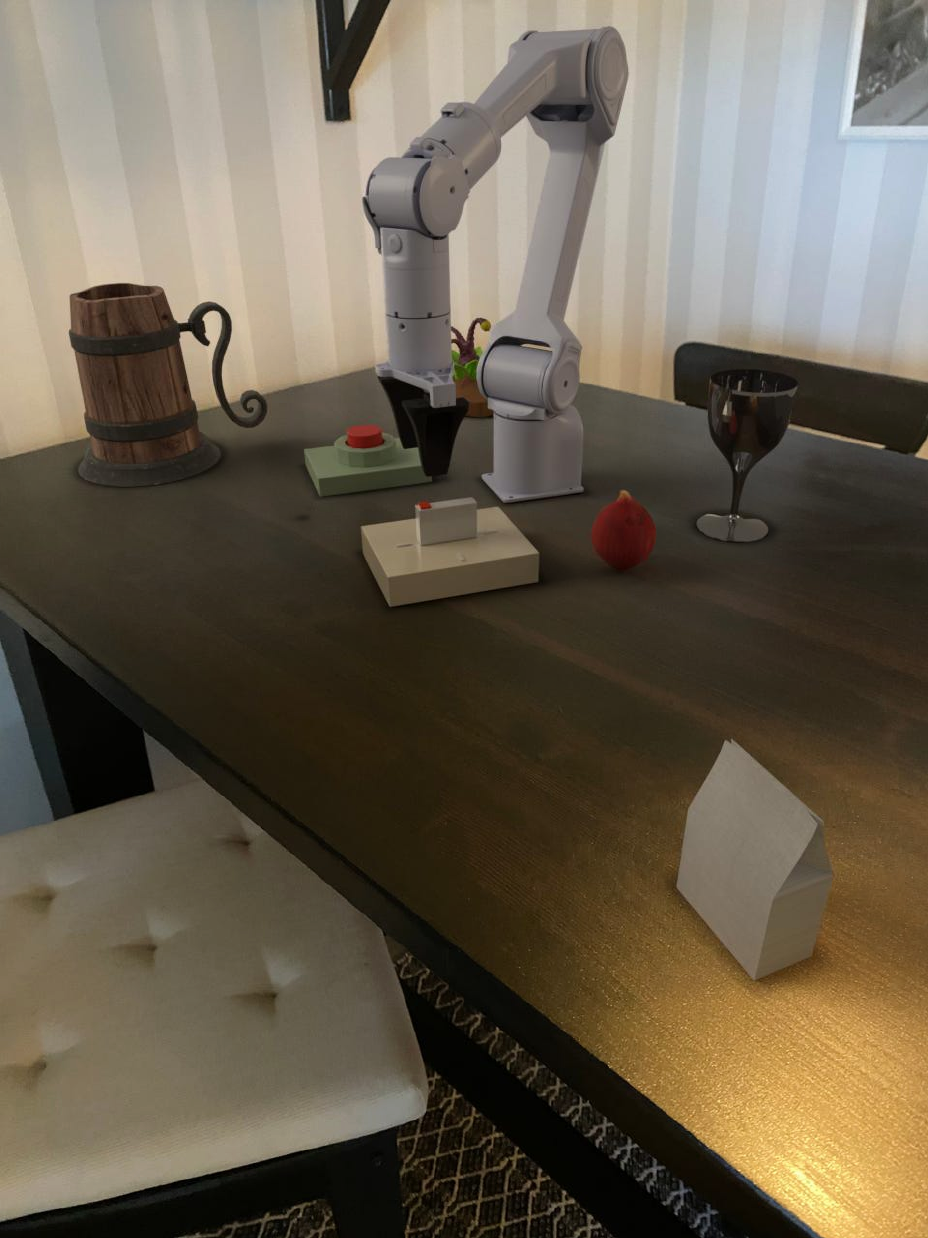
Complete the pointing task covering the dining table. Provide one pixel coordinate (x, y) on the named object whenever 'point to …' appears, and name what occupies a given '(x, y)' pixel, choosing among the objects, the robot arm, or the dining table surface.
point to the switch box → (446, 520)
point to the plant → (469, 370)
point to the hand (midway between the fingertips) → (424, 460)
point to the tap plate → (448, 560)
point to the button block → (363, 466)
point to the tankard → (144, 386)
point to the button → (364, 436)
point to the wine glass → (745, 437)
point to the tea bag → (755, 864)
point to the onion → (623, 533)
